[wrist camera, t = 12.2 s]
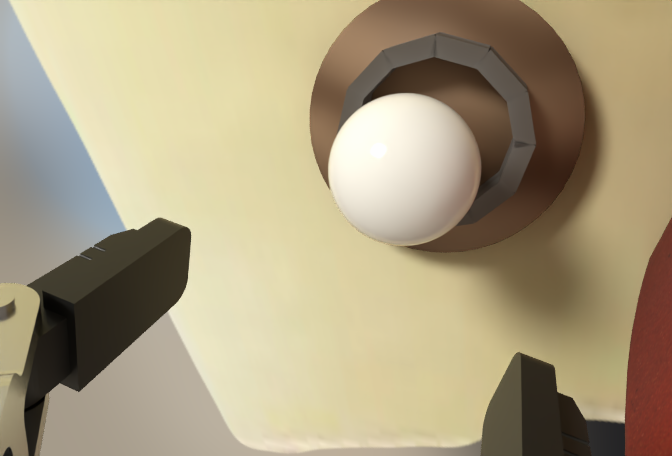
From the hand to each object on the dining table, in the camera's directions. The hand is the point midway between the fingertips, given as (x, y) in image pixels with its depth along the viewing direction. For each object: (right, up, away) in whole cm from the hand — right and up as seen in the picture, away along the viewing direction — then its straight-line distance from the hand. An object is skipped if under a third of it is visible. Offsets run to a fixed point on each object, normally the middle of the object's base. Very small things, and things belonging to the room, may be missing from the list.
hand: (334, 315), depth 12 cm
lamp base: (+6, +8, +18) cm, 21 cm away
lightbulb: (+5, +8, +16) cm, 19 cm away
